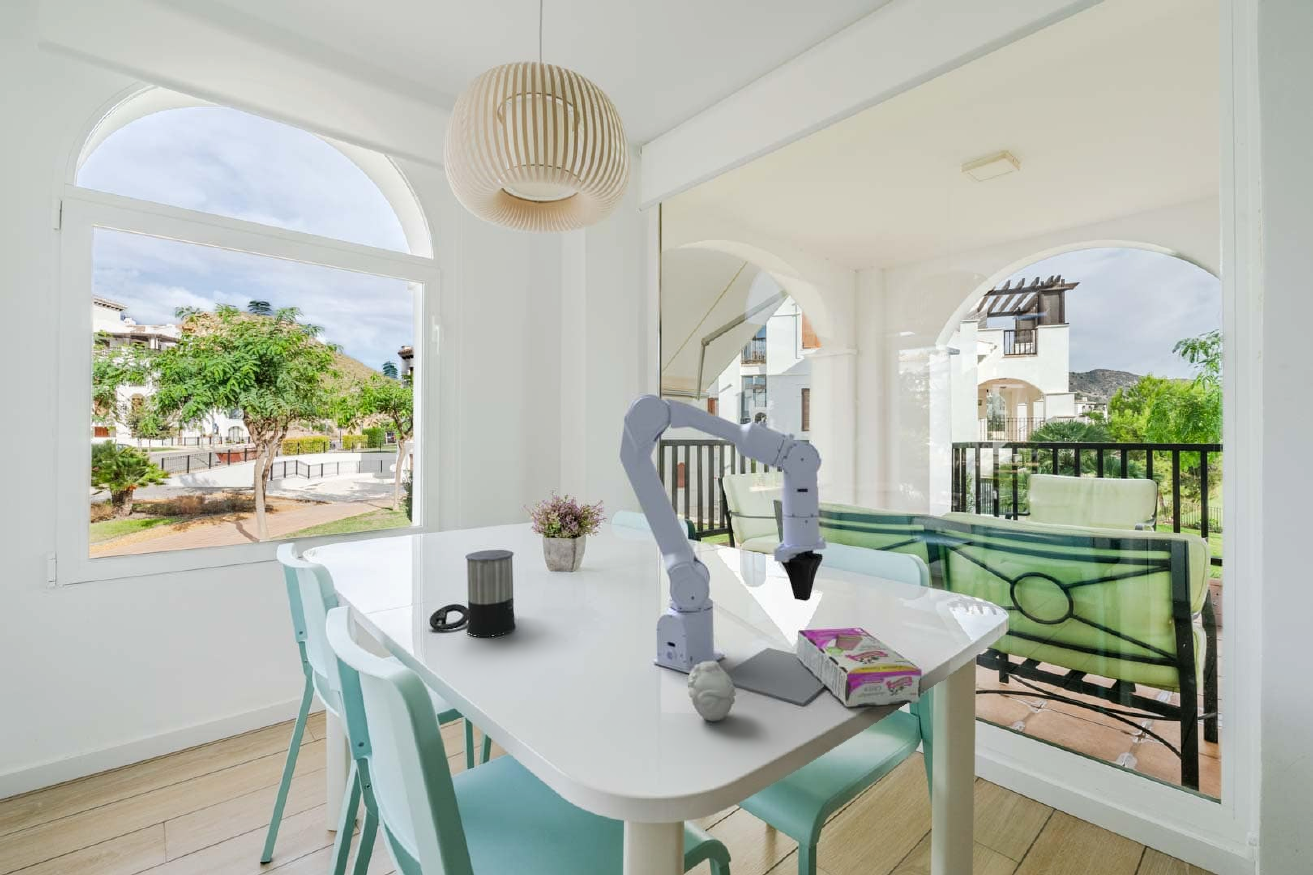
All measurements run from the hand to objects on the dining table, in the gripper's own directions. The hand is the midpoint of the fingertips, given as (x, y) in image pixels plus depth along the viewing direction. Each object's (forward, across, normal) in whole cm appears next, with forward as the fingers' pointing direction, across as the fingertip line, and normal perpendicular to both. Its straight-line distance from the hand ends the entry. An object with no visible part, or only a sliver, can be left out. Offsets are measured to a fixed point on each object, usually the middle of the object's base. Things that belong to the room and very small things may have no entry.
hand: (802, 599), depth 96 cm
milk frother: (+10, -22, +59) cm, 64 cm away
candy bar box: (+7, +2, -3) cm, 8 cm away
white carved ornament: (+10, -25, +1) cm, 27 cm away
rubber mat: (+10, -7, 0) cm, 12 cm away
